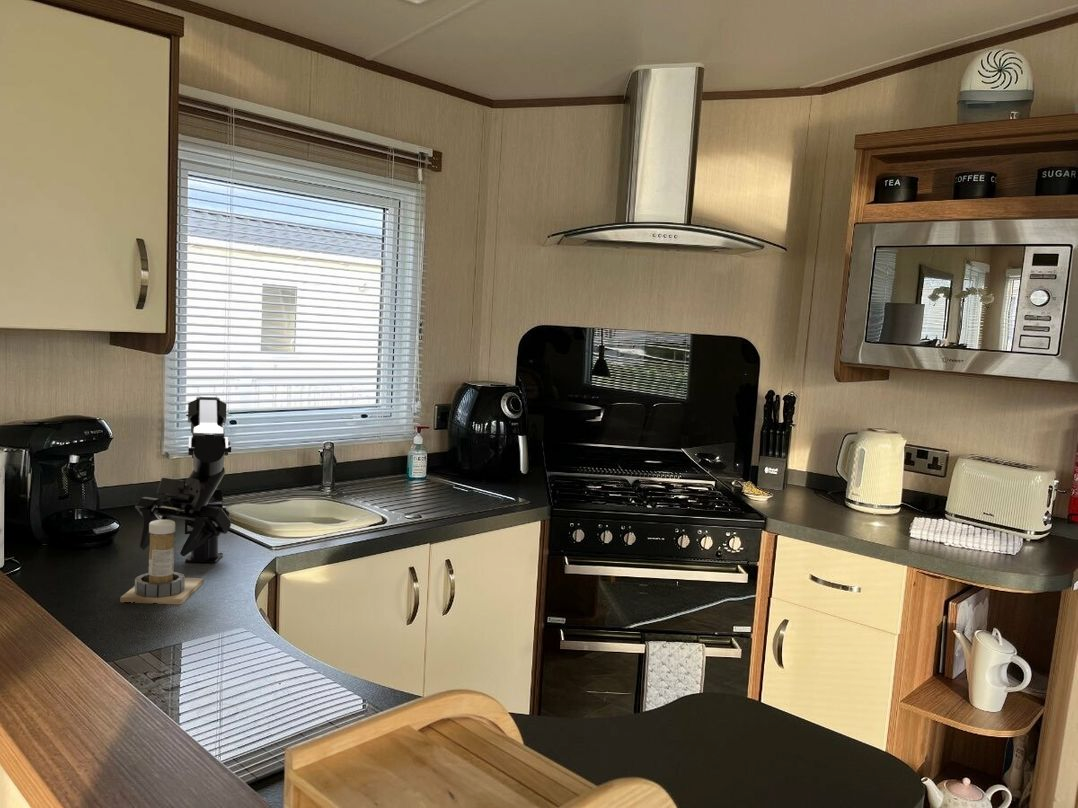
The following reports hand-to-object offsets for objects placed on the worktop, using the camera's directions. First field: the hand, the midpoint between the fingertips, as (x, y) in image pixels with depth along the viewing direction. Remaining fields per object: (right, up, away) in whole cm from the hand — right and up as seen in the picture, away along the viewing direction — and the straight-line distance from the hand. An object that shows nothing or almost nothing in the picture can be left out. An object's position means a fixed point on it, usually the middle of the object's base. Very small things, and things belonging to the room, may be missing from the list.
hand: (161, 551), depth 162 cm
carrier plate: (-1, -8, +2) cm, 9 cm away
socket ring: (-1, -8, 0) cm, 8 cm away
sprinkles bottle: (0, -8, 0) cm, 8 cm away
